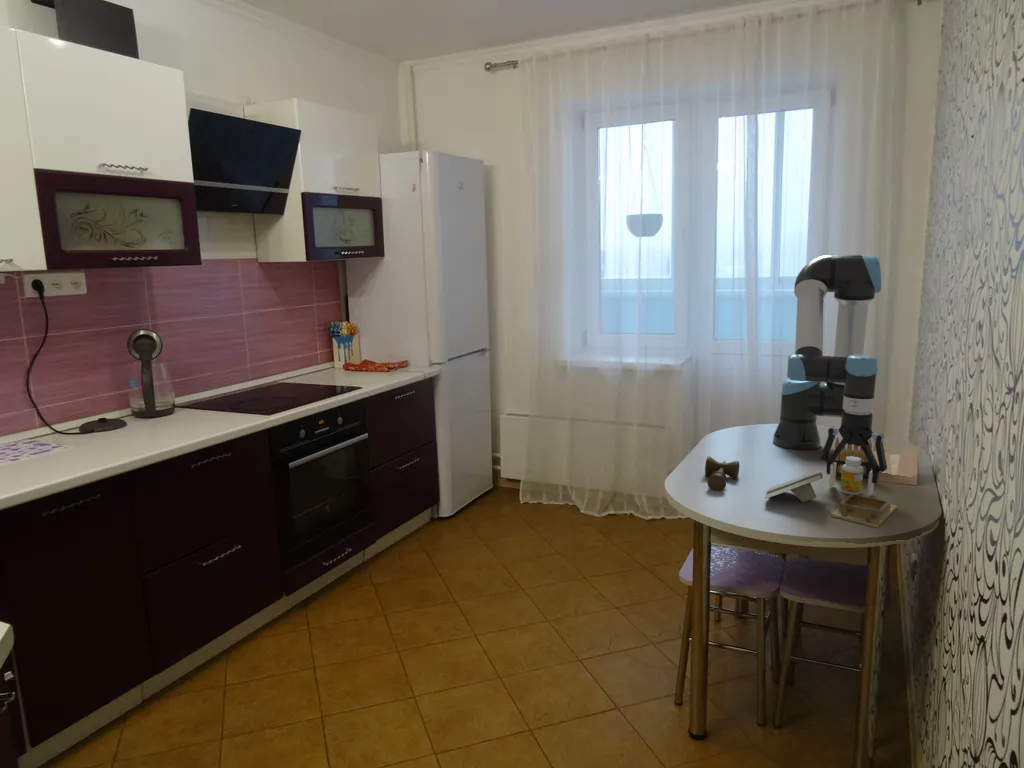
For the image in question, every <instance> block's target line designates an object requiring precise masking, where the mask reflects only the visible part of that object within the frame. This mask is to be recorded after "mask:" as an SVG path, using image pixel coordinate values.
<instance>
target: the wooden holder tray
mask: <svg viewBox="0 0 1024 768" xmlns="http://www.w3.org/2000/svg"><path fill="white" fill-rule="evenodd" d="M891 503H892V502H891V501H889V500H885V499H880V498H875V497H871V496H866V495H861V494H853V493H851V494H848V496H846V497H845V498H844V499H843V500H842V501H840V502H839V505H838V508H836V509H835V510H834V511H833V512H832V513H831V514H830V517H831V518H837V519H840V520H845V521H847V522H853V523H857V524H861V525H865V526H870V527H873V528H879V527H880V526H881V525H882V524H883V523H884V522H885V521H886V519H887V518H889V517H890V515H892V514H893V513H894V512H895V511H896V509H897V508H898V505H897V504H891ZM887 520H888V519H887Z"/></svg>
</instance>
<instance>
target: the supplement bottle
mask: <svg viewBox="0 0 1024 768" xmlns="http://www.w3.org/2000/svg"><path fill="white" fill-rule="evenodd" d="M845 463H846V464H844V465H843V466H842V473H841V477H840V486H839V490H840V491H841V492H842V493H844V494H847V495H850V494H851V493H853V494H857V495H861V493H862V488H863V467H862V466H860V465H861V458H859V456H858V457H854V456H848V457H846V456H845Z"/></svg>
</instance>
